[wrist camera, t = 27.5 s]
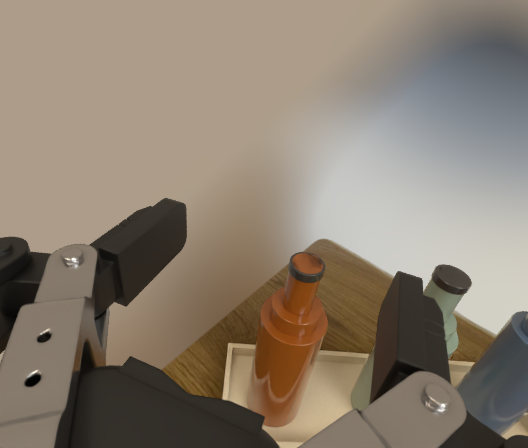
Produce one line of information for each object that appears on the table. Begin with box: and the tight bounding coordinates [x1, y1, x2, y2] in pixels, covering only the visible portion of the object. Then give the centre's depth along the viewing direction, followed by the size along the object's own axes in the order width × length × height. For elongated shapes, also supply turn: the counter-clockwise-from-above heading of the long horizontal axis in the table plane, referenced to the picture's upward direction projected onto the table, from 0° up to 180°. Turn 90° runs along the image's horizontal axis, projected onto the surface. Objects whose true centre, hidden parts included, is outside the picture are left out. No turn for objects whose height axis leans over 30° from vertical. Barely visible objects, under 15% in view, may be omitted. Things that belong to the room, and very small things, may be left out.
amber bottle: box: [247, 252, 328, 428], centre depth 32 cm, size 6×6×20 cm
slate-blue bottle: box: [455, 311, 528, 436], centre depth 33 cm, size 6×6×20 cm
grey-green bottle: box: [351, 265, 472, 411], centre depth 33 cm, size 6×6×20 cm
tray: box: [222, 343, 528, 448], centre depth 38 cm, size 35×11×2 cm, turn 90°
